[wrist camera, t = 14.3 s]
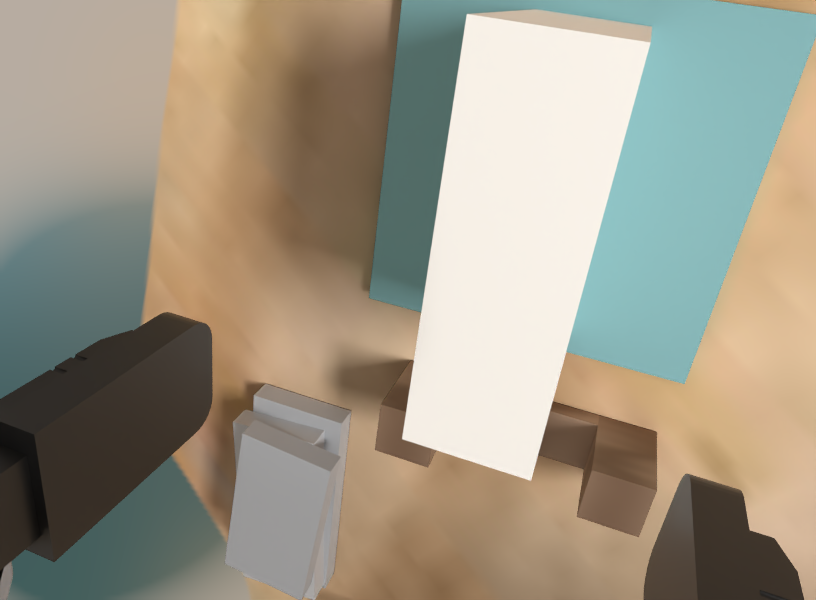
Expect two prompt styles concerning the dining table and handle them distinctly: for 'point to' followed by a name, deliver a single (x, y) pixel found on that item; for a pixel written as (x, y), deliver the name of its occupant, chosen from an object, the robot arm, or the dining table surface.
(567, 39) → the off-white panel
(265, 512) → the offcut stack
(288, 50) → the dining table surface
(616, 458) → the walnut rack
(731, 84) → the teal mat
